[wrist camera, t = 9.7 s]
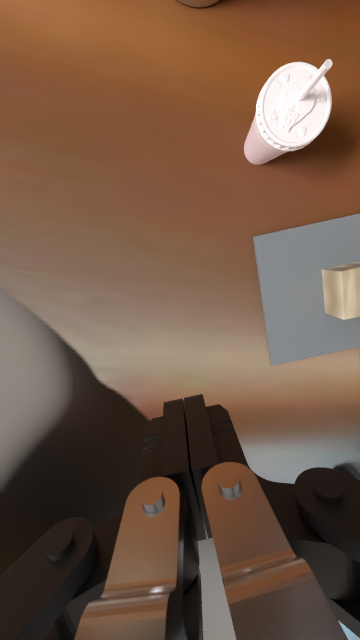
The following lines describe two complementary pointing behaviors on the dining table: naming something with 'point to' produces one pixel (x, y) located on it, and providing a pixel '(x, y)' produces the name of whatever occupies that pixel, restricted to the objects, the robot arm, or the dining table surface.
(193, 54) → the dining table surface
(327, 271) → the birch block
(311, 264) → the mat
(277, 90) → the smoothie
